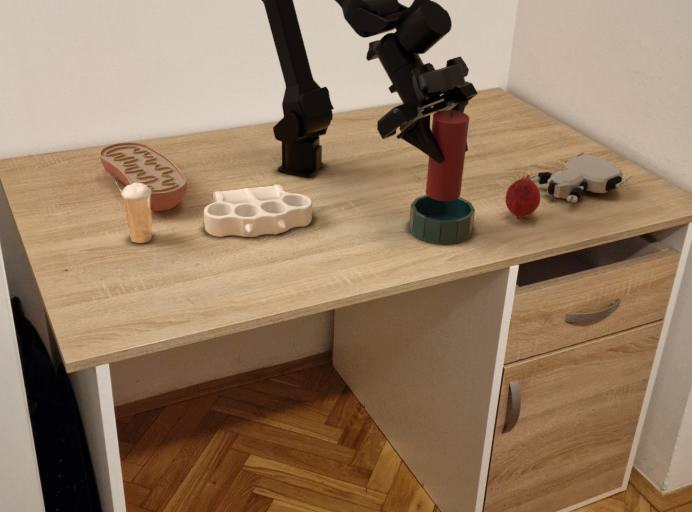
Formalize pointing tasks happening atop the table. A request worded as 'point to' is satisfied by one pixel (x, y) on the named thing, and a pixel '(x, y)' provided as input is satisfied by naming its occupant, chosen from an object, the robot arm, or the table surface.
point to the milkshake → (138, 211)
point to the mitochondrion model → (145, 172)
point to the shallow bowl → (441, 220)
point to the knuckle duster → (256, 212)
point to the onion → (522, 197)
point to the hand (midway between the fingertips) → (453, 157)
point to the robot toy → (581, 177)
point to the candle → (448, 155)
